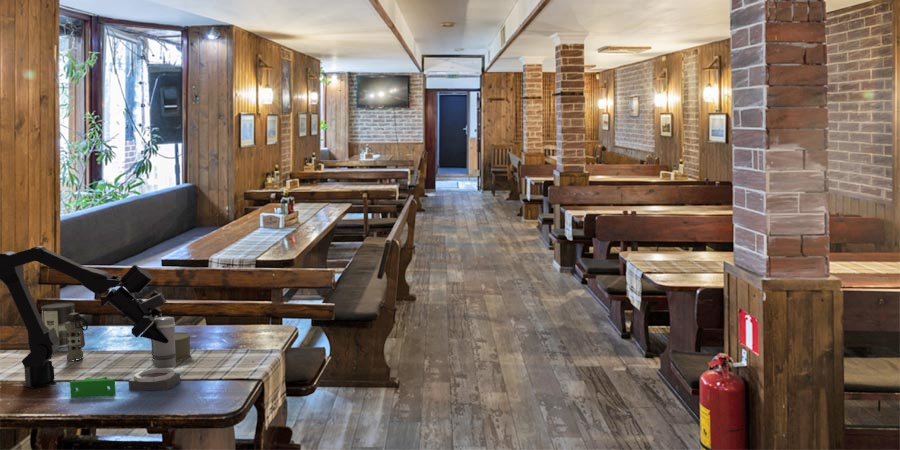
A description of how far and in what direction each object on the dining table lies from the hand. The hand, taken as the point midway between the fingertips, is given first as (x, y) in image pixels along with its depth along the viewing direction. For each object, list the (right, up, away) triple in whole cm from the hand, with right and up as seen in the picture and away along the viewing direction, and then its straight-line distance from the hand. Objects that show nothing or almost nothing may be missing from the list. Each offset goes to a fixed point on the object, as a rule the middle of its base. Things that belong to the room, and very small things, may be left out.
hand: (169, 339), depth 215 cm
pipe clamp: (-13, -13, -18) cm, 25 cm away
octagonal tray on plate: (0, -11, -10) cm, 15 cm away
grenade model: (-37, -10, +21) cm, 44 cm away
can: (-8, -9, +22) cm, 25 cm away
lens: (-1, -8, 0) cm, 8 cm away
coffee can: (-54, -8, +40) cm, 68 cm away
